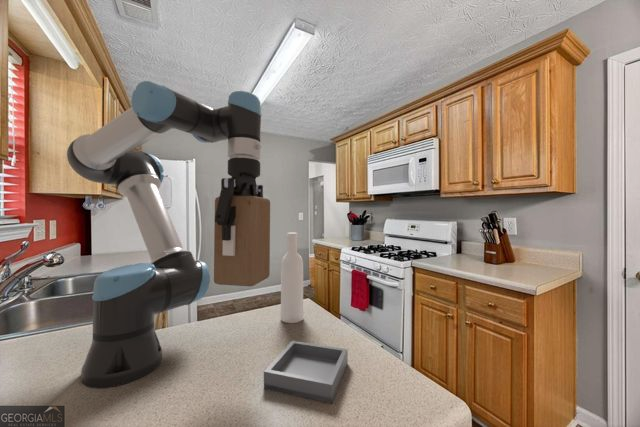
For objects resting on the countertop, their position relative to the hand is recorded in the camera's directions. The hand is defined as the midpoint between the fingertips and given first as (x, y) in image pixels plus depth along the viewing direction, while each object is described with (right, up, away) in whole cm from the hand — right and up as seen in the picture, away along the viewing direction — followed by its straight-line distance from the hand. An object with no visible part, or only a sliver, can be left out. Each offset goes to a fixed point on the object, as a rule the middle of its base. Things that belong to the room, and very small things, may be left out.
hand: (243, 252), depth 63 cm
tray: (+16, -27, -4) cm, 31 cm away
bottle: (+9, -28, +29) cm, 41 cm away
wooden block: (0, -7, 0) cm, 7 cm away
